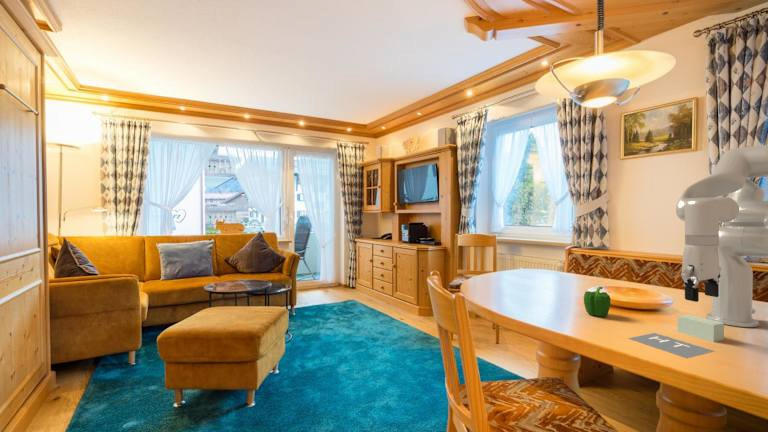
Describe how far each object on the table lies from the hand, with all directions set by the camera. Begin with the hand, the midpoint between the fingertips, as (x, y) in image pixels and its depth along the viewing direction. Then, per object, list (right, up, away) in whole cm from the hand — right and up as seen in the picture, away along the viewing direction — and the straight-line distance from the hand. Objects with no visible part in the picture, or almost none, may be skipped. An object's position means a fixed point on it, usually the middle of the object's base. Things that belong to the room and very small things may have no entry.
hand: (701, 298), depth 107 cm
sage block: (-1, -11, 0) cm, 11 cm away
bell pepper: (-19, -11, +21) cm, 30 cm away
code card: (-15, -11, -7) cm, 20 cm away
